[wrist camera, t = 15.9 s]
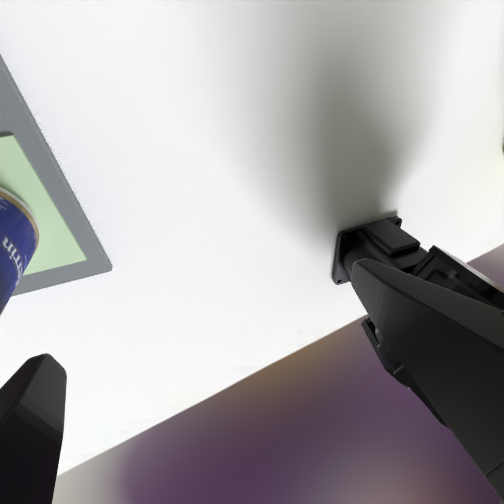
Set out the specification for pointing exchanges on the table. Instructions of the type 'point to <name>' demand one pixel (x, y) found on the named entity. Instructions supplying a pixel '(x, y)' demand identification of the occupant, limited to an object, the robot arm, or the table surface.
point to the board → (44, 198)
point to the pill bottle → (15, 242)
